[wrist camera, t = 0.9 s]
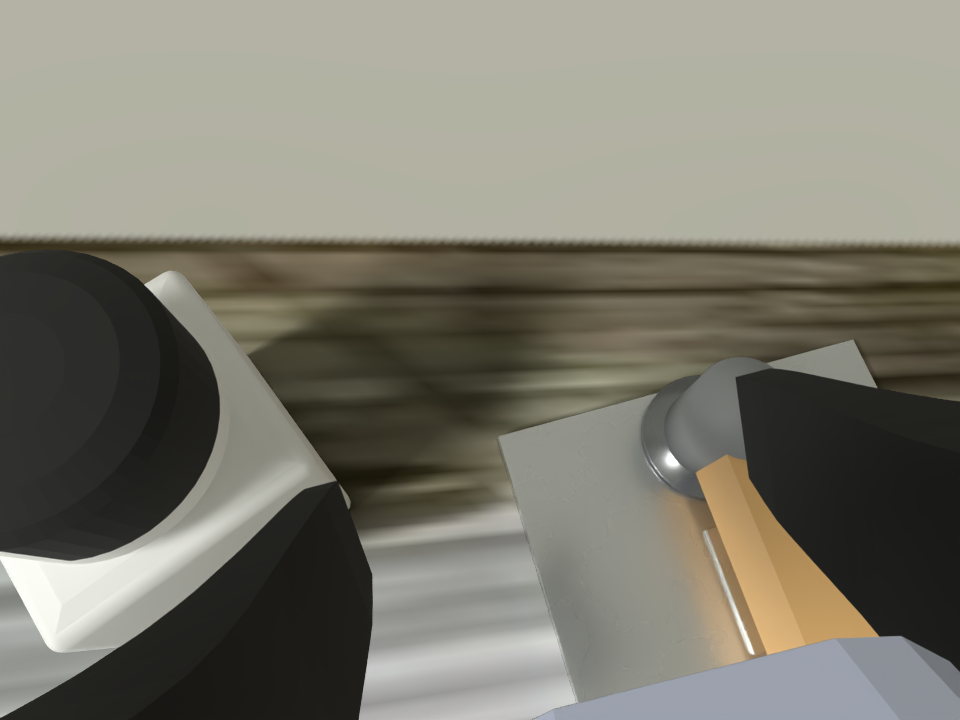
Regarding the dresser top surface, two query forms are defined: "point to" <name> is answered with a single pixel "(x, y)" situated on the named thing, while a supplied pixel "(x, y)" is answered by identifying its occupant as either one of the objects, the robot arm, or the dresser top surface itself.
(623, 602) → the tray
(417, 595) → the dresser top surface
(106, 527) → the medicine bottle
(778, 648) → the tan piece
